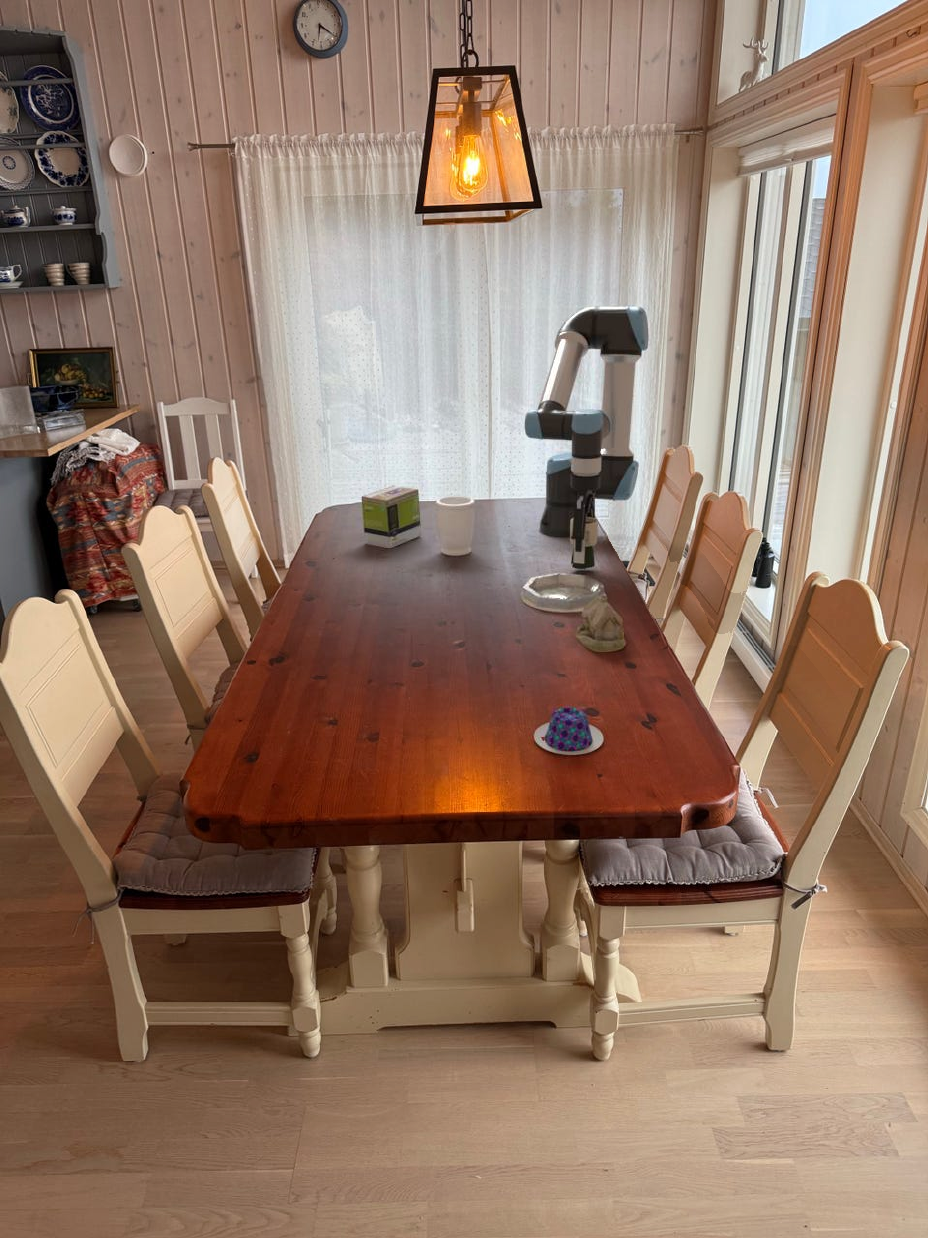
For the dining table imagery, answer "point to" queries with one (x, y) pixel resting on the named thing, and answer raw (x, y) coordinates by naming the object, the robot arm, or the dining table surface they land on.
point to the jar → (455, 524)
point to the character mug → (586, 543)
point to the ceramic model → (601, 627)
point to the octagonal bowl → (561, 592)
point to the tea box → (391, 516)
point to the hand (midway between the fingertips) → (583, 556)
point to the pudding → (568, 733)
